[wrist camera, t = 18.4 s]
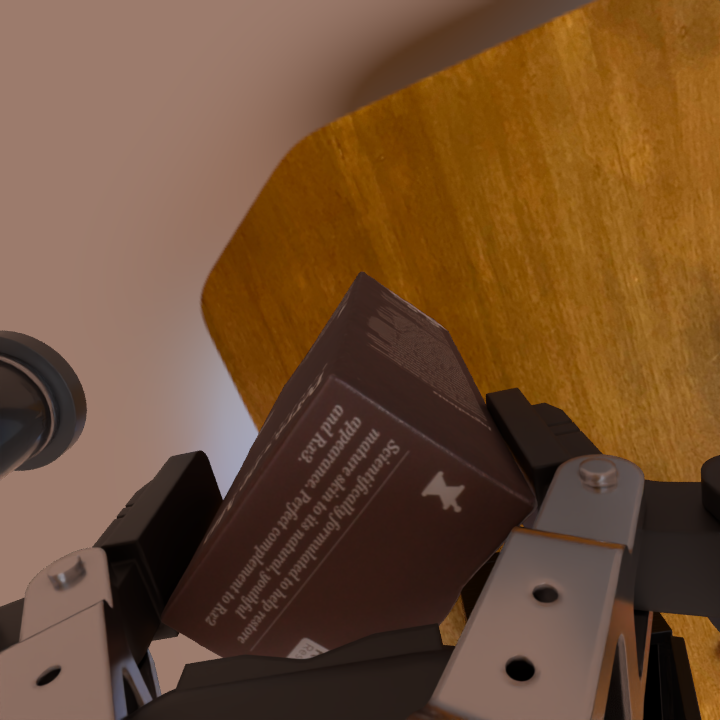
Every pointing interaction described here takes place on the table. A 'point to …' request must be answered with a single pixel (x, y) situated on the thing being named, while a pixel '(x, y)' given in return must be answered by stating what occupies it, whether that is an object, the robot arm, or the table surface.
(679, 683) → the lid
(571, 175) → the table surface
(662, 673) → the trash can
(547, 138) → the table surface
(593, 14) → the table surface
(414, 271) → the table surface
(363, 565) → the box
